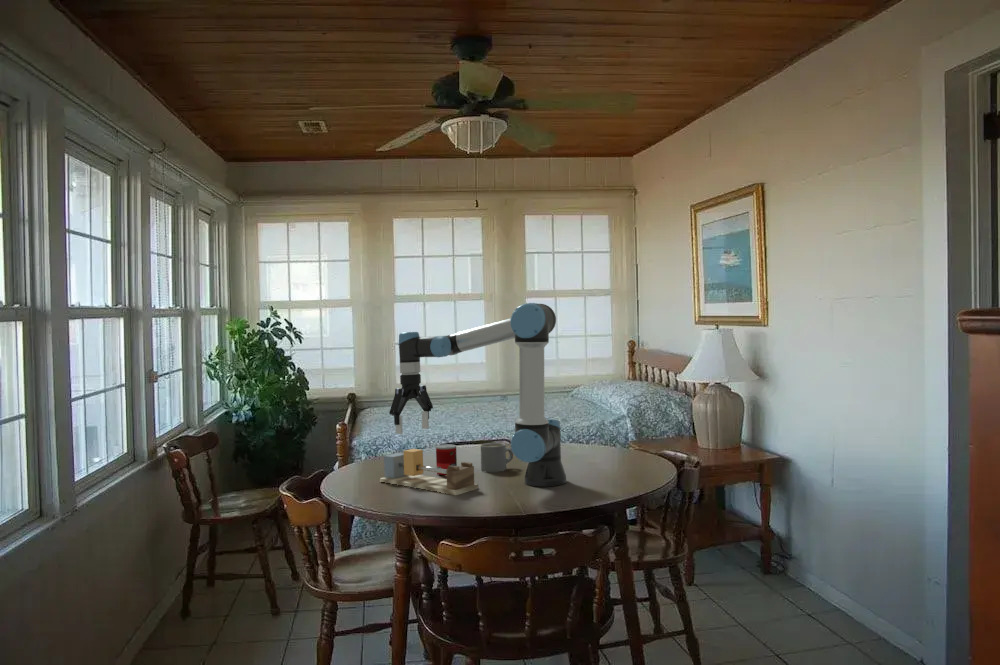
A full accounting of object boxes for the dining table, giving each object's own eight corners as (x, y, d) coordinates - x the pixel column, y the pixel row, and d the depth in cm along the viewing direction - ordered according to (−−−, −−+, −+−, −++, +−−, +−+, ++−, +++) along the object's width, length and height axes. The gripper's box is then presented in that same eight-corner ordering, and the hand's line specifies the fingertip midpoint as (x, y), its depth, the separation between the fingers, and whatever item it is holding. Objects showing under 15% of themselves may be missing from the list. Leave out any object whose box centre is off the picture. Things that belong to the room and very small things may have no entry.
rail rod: (459, 477, 250) (459, 466, 250) (452, 479, 247) (452, 468, 247) (402, 468, 268) (401, 458, 268) (394, 470, 265) (394, 460, 265)
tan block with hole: (423, 473, 262) (422, 449, 262) (413, 476, 258) (413, 452, 258) (413, 472, 265) (413, 448, 265) (404, 474, 261) (403, 450, 261)
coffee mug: (484, 473, 275) (483, 447, 275) (479, 468, 285) (478, 443, 285) (517, 470, 278) (516, 445, 278) (511, 465, 288) (510, 441, 288)
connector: (407, 475, 268) (406, 454, 268) (393, 478, 263) (393, 457, 263) (398, 473, 271) (397, 452, 271) (384, 477, 266) (383, 455, 266)
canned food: (454, 476, 271) (453, 447, 271) (434, 476, 273) (433, 447, 272) (459, 472, 278) (458, 444, 278) (439, 471, 280) (439, 444, 280)
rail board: (478, 488, 250) (477, 462, 250) (456, 495, 241) (455, 468, 240) (402, 476, 273) (402, 452, 273) (379, 482, 264) (379, 457, 264)
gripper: (426, 371, 273) (428, 425, 273) (378, 376, 253) (380, 435, 254) (440, 371, 268) (443, 427, 269) (392, 376, 249) (394, 436, 249)
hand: (412, 431), depth 261 cm, fingers open, 13 cm apart
